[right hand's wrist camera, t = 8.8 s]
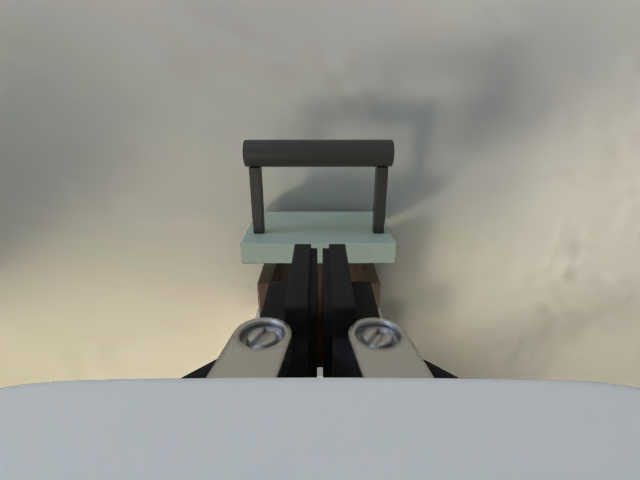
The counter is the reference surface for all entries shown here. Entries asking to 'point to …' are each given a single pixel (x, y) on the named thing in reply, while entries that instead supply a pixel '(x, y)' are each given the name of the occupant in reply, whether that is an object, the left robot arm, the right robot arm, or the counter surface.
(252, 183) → the drawer
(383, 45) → the counter surface
